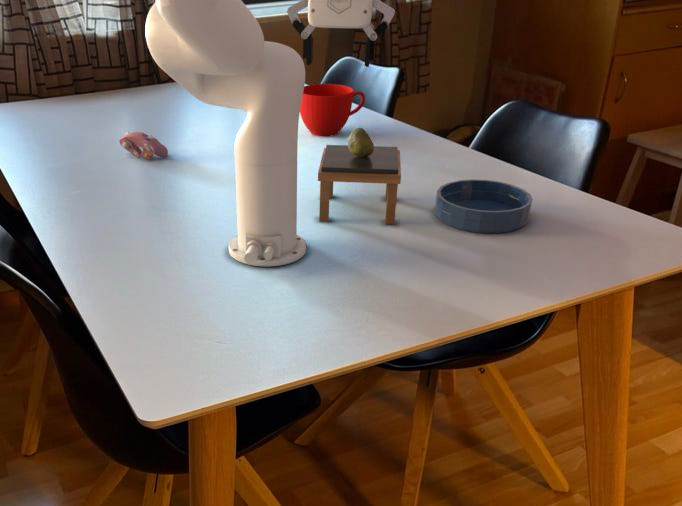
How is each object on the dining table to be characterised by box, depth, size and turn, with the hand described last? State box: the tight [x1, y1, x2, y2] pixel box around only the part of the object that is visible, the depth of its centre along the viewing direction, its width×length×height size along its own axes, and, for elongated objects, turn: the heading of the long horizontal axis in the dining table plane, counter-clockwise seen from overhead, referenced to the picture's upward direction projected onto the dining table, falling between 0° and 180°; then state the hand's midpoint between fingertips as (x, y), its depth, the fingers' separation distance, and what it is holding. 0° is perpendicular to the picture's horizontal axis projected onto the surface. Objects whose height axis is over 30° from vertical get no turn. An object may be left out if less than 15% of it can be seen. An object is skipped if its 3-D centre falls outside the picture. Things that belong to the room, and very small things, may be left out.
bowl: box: [434, 178, 533, 234], centre depth 128 cm, size 16×16×4 cm
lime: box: [347, 127, 375, 157], centre depth 126 cm, size 4×5×5 cm
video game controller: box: [119, 131, 169, 160], centre depth 158 cm, size 10×5×7 cm, turn 62°
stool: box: [317, 144, 402, 225], centre depth 130 cm, size 14×14×10 cm
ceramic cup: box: [299, 83, 366, 138], centre depth 172 cm, size 13×17×10 cm
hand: (338, 64), depth 120 cm, fingers open, 9 cm apart
